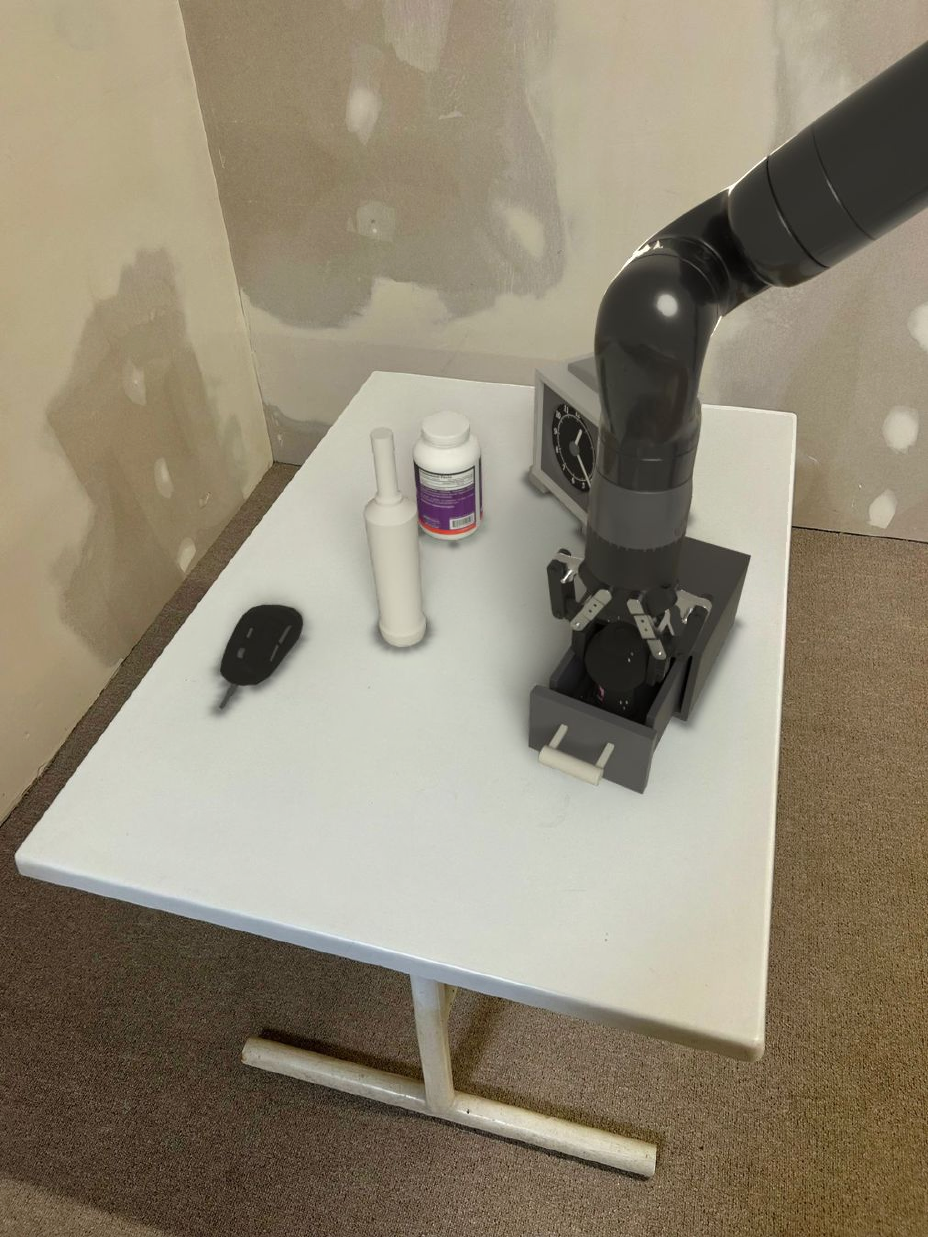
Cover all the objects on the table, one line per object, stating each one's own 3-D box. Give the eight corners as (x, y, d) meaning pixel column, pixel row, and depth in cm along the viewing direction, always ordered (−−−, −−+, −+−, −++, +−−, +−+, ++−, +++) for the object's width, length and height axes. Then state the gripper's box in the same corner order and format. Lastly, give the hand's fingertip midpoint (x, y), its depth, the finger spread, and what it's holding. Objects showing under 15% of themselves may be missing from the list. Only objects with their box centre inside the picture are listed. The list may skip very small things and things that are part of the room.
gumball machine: (569, 686, 83) (575, 610, 76) (628, 674, 84) (639, 598, 77) (592, 739, 78) (601, 664, 71) (654, 727, 79) (669, 651, 72)
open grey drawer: (624, 832, 75) (633, 779, 69) (506, 781, 79) (507, 727, 73) (694, 687, 86) (707, 632, 81) (589, 649, 91) (594, 594, 85)
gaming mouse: (194, 702, 88) (184, 675, 85) (263, 607, 98) (256, 580, 95) (248, 716, 87) (240, 689, 84) (313, 618, 97) (308, 591, 94)
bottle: (389, 612, 97) (364, 415, 80) (433, 619, 96) (417, 421, 79) (373, 644, 93) (344, 445, 76) (419, 652, 92) (399, 452, 75)
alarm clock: (525, 476, 115) (528, 347, 103) (608, 449, 119) (620, 322, 107) (602, 552, 103) (616, 417, 91) (691, 519, 107) (716, 386, 95)
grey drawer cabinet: (686, 721, 84) (702, 653, 78) (568, 677, 89) (573, 609, 82) (733, 623, 94) (751, 555, 87) (624, 587, 99) (633, 520, 92)
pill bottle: (438, 498, 112) (432, 399, 102) (493, 515, 109) (493, 414, 99) (406, 533, 107) (396, 432, 97) (463, 551, 104) (459, 449, 94)
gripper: (745, 513, 65) (709, 666, 77) (571, 465, 71) (561, 615, 82) (715, 571, 61) (681, 724, 72) (530, 515, 66) (526, 666, 78)
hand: (617, 665), depth 77 cm, fingers closed on gumball machine, 6 cm apart
